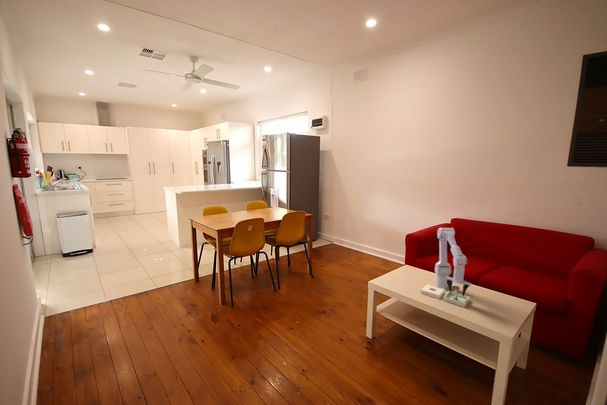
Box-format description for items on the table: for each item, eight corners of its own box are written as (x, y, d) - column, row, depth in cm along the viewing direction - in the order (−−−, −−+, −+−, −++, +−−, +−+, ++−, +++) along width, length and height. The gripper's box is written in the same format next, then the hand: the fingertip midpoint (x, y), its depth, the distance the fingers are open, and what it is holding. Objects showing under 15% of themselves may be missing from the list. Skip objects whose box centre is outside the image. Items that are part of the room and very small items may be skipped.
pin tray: (448, 294, 190) (449, 290, 189) (469, 300, 181) (469, 296, 181) (442, 300, 181) (443, 296, 180) (464, 307, 172) (464, 303, 172)
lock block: (426, 287, 200) (427, 284, 199) (444, 292, 191) (444, 289, 191) (420, 292, 191) (420, 289, 191) (438, 298, 183) (438, 295, 182)
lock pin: (452, 297, 184) (453, 285, 183) (459, 299, 181) (460, 287, 180) (450, 299, 181) (452, 287, 180) (457, 301, 178) (458, 289, 177)
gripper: (444, 272, 180) (443, 291, 182) (469, 278, 170) (467, 299, 172) (448, 269, 185) (446, 288, 187) (472, 275, 176) (470, 295, 177)
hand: (456, 293), depth 180 cm, fingers open, 7 cm apart
